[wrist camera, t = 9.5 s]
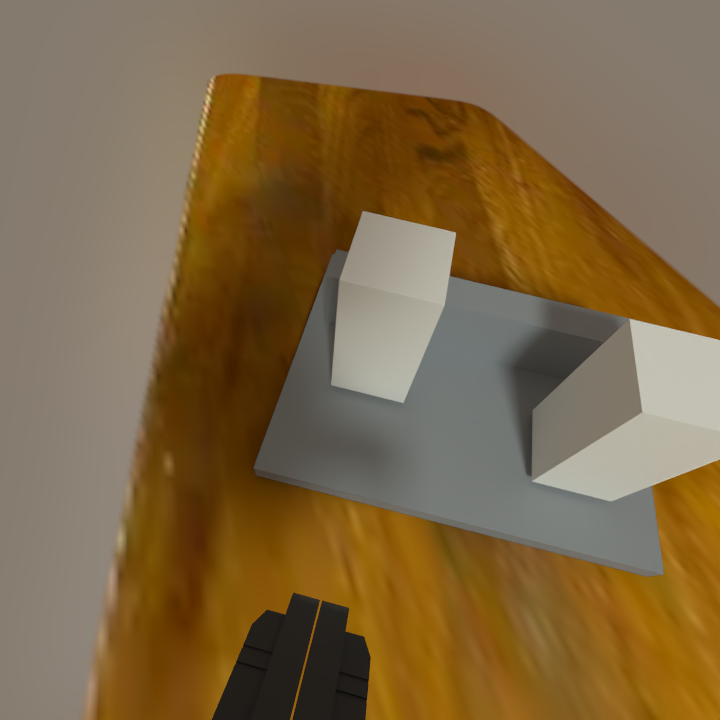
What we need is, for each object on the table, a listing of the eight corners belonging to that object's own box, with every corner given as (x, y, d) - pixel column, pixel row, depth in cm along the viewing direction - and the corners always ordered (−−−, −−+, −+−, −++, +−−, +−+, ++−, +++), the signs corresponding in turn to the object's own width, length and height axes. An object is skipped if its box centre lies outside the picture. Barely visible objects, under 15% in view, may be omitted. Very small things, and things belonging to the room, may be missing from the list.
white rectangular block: (611, 501, 21) (764, 442, 14) (531, 481, 21) (642, 412, 14) (605, 428, 23) (734, 343, 16) (532, 410, 23) (629, 318, 16)
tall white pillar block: (403, 403, 23) (444, 305, 16) (331, 385, 23) (339, 279, 16) (414, 343, 25) (456, 232, 18) (348, 326, 25) (362, 211, 18)
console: (646, 576, 21) (736, 565, 17) (255, 475, 22) (241, 438, 17) (618, 334, 29) (673, 283, 24) (331, 266, 30) (335, 204, 25)
